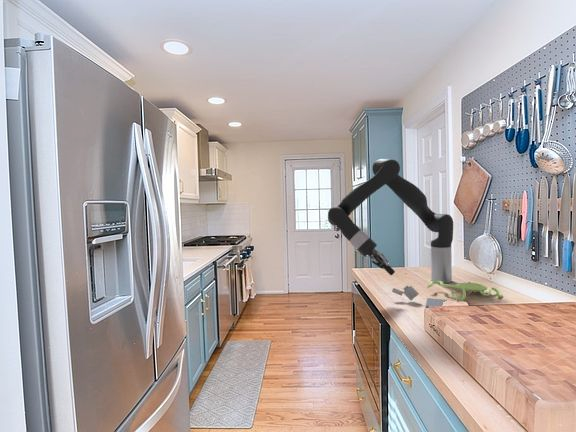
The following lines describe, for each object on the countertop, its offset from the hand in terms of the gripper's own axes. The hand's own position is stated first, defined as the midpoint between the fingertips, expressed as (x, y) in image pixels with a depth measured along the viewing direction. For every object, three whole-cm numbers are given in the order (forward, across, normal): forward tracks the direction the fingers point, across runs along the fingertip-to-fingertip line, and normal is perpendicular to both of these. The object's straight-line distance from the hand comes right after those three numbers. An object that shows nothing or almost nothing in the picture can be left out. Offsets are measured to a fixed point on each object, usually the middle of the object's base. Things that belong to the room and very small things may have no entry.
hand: (393, 273), depth 137 cm
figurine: (+27, +17, -10) cm, 33 cm away
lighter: (+12, 0, +2) cm, 13 cm away
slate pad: (+22, 0, -6) cm, 23 cm away
